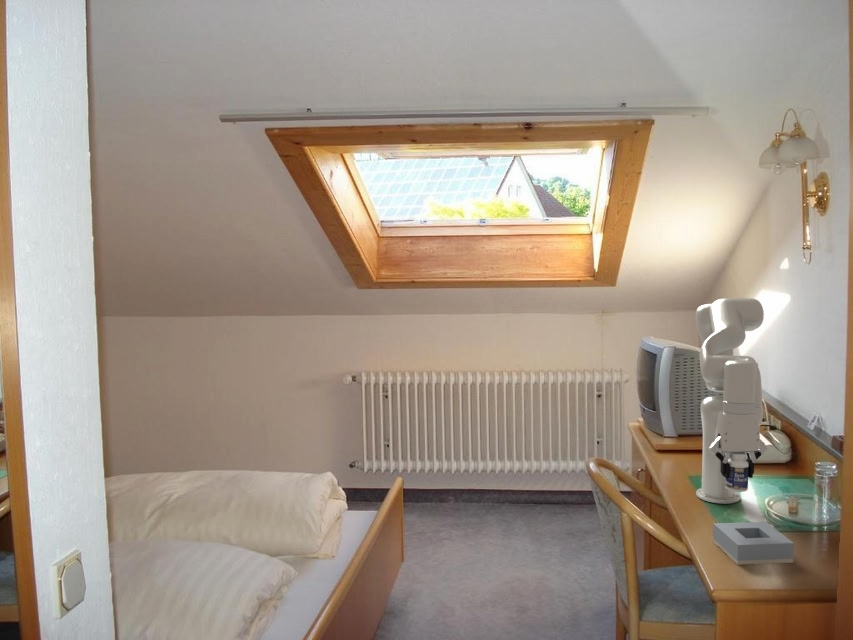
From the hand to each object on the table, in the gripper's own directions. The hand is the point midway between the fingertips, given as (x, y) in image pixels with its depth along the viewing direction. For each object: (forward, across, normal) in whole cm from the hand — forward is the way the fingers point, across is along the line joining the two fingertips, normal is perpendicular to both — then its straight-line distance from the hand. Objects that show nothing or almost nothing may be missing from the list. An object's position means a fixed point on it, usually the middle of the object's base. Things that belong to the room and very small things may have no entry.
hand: (737, 475), depth 194 cm
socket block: (+18, -2, +6) cm, 19 cm away
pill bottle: (+4, 0, 0) cm, 4 cm away
